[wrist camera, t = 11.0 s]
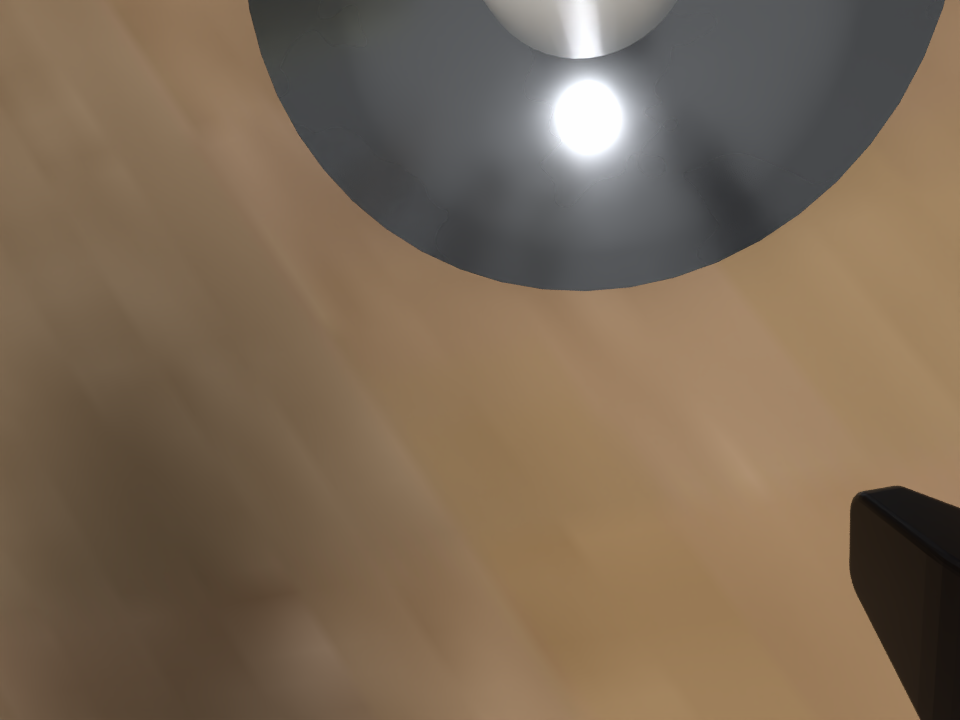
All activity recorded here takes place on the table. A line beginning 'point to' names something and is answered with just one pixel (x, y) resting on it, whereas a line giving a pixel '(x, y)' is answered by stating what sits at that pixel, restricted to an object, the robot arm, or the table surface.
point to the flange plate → (589, 126)
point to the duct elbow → (579, 23)
